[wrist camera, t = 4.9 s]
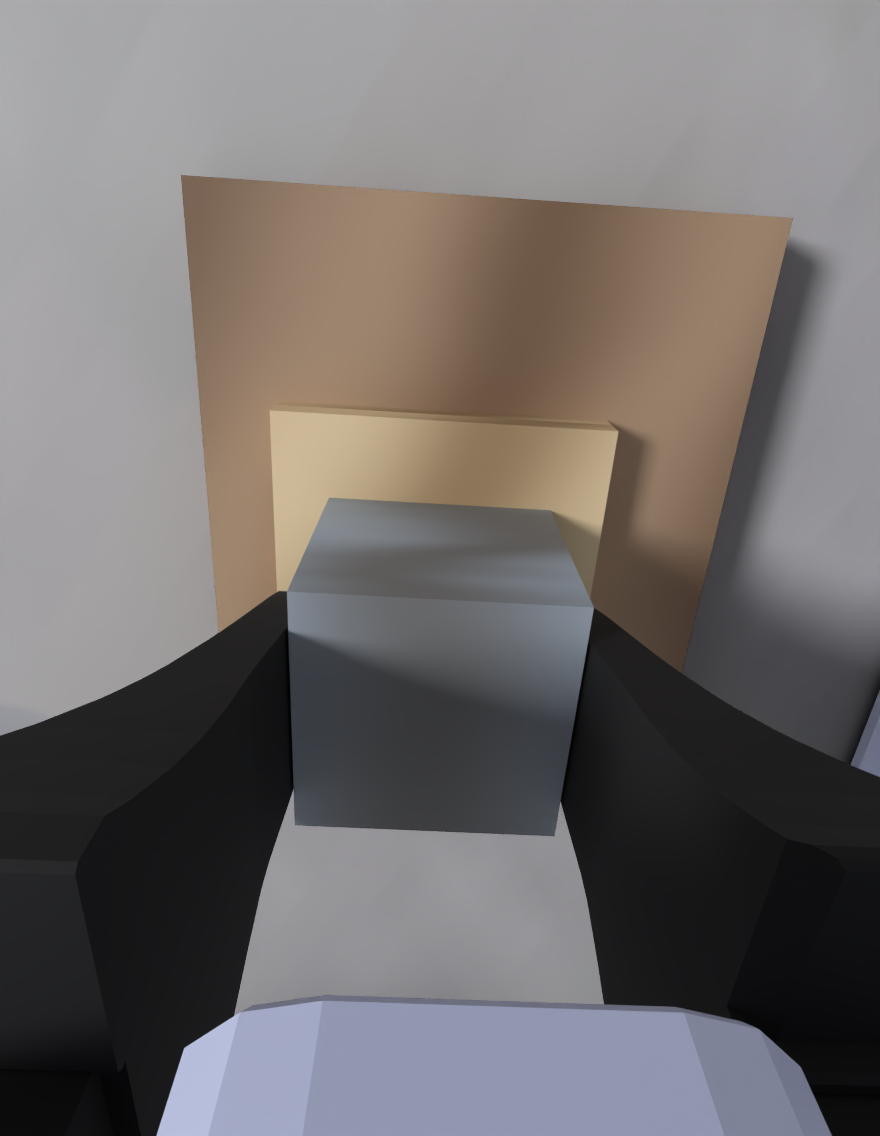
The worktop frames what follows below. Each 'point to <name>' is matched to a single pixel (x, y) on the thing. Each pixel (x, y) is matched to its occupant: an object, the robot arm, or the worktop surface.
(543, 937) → the worktop surface
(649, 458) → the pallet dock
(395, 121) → the worktop surface
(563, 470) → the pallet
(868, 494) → the worktop surface
